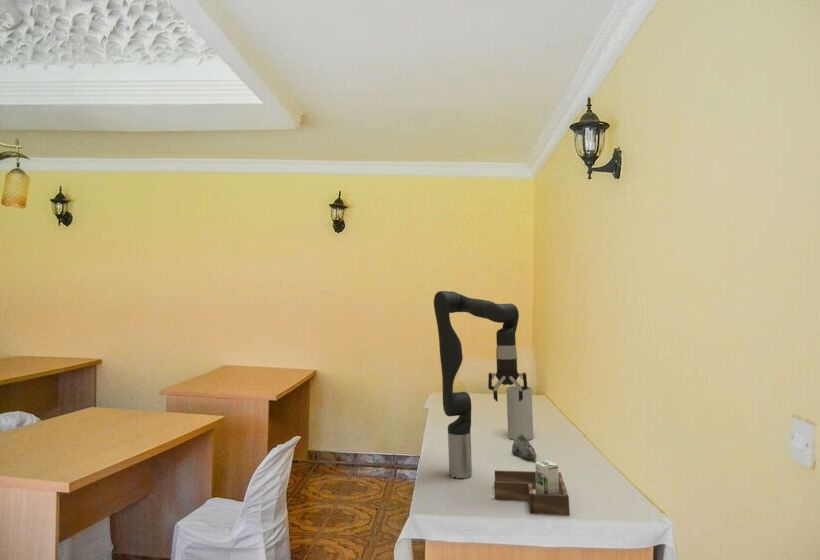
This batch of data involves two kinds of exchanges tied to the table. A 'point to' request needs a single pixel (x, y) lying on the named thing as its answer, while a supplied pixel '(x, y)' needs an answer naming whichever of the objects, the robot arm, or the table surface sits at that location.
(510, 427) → the cylinder vase
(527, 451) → the mineral rock
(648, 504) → the table surface
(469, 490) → the table surface
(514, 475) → the walnut corridor
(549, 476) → the syrup box
